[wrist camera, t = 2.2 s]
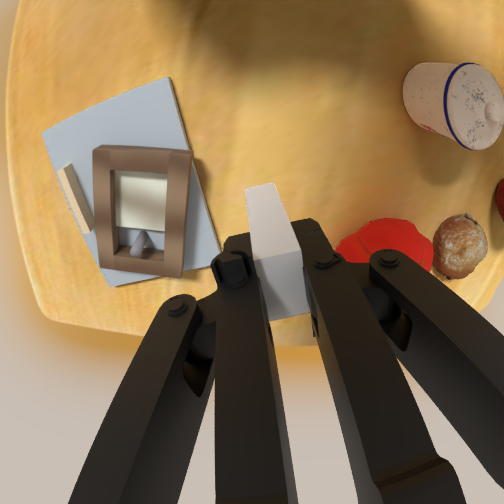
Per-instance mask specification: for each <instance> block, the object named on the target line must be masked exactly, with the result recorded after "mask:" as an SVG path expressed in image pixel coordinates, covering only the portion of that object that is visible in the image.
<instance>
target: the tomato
mask: <svg viewBox="0 0 504 504" xmlns="http://www.w3.org/2000/svg"><path fill="white" fill-rule="evenodd" d="M381 249H395V250H399V251H401V252H403V253H404V254H406V255H407V256H408V257H410V258H411V259H412V260H414V261H415V262H416V263H418V264H419V265H420V266H422V267H423V268H424V269H425V270H427V271H428V272H429V273H430V270H431V266H432V261H433V245H432V244H431V242H430V240H429V239H427V238H426V237H424V236H423V235H422V234H420V233H419V232H418V230H417V229H416V227H415V225H414V224H412V223H411V222H409V221H407V220H400V219H392V218H384V219H379V220H374V221H370V222H369V223H368V224H366V225H365V226H364V227H362V228H361V229H360V230H358V231H357V232H356V233H354V234H352V235H350V236H348V237H346V238H345V239H343V240H342V241H341V242H340V244H339V245H338V247H337V248H336V250H335V252H337V253H340V254H341V255H342V256H343V257H344V258H345V260H346V261H348V262H355V263H365V262H369V258H370V256H371V255H372V254H373V253H374V252H376V251H378V250H381Z"/></svg>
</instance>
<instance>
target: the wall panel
mask: <svg viewBox="0 0 504 504" xmlns="http://www.w3.org/2000/svg"><path fill="white" fill-rule="evenodd" d="M42 137H43V140H44V143H45V146H46V148H47V151H48V154H49V157H50V160H51V163H52V165H53V168H54V171H55V173H56V176H57V178H58V181H59V183H60V186H61V188H62V191H63V193H64V196H65V198H66V200H67V203H68V205H69V207H70V210H71V212H72V214H73V216H74V218H75V221H76V223H77V225H78V227H79V229H80V231H81V233H82V235H83V237H84V240H85V242H86V244H87V246H88V248H89V250H90V252H91V253H92V255H93V257H94V259H95V261H96V263H97V265H98V267H99V269H100V271H101V272H102V274H103V276H104V278H105V280H106V281H107V283H108V285H109V287H112V286H117V285H122V284H127V283H131V282H136V281H141V280H146V279H150V278H155V277H160V276H156V275H148V274H140V273H133V272H125V271H118V270H110V269H103V268H100V266H99V258H98V250H97V240H96V230H95V218H94V202H93V176H92V150H93V149H95V148H96V147H98V146H100V145H127V146H145V147H159V148H172V149H183V150H190V147H189V144H188V140H187V137H186V133H185V130H184V126H183V123H182V119H181V115H180V112H179V108H178V105H177V101H176V97H175V94H174V90H173V86H172V83H171V79H170V77H165V78H162V79H159V80H156V81H153V82H151V83H148V84H145V85H142V86H140V87H137V88H134V89H132V90H129V91H127V92H124V93H122V94H119V95H117V96H114V97H112V98H110V99H107V100H105V101H103V102H101V103H98V104H96V105H94V106H92V107H90V108H88V109H85V110H83V111H81V112H79V113H77V114H75V115H73V116H71V117H69V118H67V119H66V120H64V121H62V122H60V123H58V124H56V125H54V126H53V127H51V128H49V129H47V130H45V131H44V132H42ZM164 236H165V231H158V230H149V229H139V228H130V227H121V226H119V241H120V245H125V246H132V248H131V250H130V254H131V256H133V257H139V256H140V254H141V252H142V250H143V248H150V249H159V250H164ZM220 253H222V252H221V249H220V246H219V243H218V240H217V237H216V233H215V230H214V227H213V224H212V221H211V217H210V214H209V211H208V208H207V204H206V201H205V198H204V194H203V191H202V188H201V184H200V181H199V178H198V174H197V171H196V168H195V164H194V161H193V159H192V168H191V178H190V188H189V198H188V210H187V222H186V236H185V251H184V267H183V271H188V270H193V269H197V268H202V267H207V266H210V264H211V261H212V260H213V259H214V258H215V257H216V256H217V255H218V254H220Z"/></svg>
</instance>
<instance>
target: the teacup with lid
mask: <svg viewBox="0 0 504 504" xmlns="http://www.w3.org/2000/svg"><path fill="white" fill-rule="evenodd" d="M403 101H404V105H405V108H406V110H407V112H408V114H409V116H410V117H411V119H412V120H413V121H414V122H415V123H416V124H417V125H418V126H420V127H422V128H423V129H426V130H429V131H431V132H434V133H436V134H439V135H442V136H444V137H447V138H449V139H451V140H454V141H456V142H458V143H459V144H460V145H462V146H463V147H465V148H467V149H469V150H483V149H486V148H488V147H489V146H491V145H492V144H493V143H494V142H495V141H496V140H497V138H498V137H499V135H500V133H501V131H502V128H503V124H504V99H503V95H502V92H501V89H500V87H499V85H498V83H497V81H496V80H495V78H494V77H493V76H492V74H491V73H490V72H489V71H487V70H486V69H485V68H483V67H482V66H480V65H478V64H475V63H463V64H453V63H432V62H424V63H420V64H417V65H415V66H414V67H413V68H412V69H411V70H410V71H409V72H408V73H407V75H406V77H405V80H404V84H403Z"/></svg>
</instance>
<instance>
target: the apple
mask: <svg viewBox="0 0 504 504" xmlns="http://www.w3.org/2000/svg"><path fill="white" fill-rule="evenodd" d="M496 202H497V207H498V210H499V213H500V215H501V217H502V219H503V221H504V178H503V179H502V180H501V181H500V183H499V185H498V187H497V190H496Z"/></svg>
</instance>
